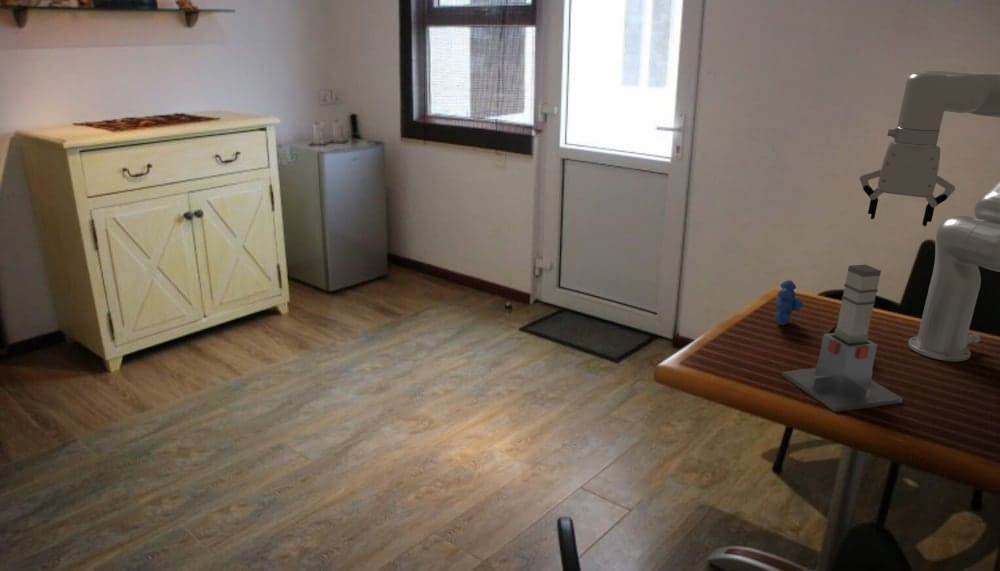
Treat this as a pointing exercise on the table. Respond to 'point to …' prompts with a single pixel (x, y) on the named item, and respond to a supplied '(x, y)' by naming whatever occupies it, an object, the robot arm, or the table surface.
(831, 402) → the stand base
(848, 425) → the table surface
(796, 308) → the blue lumpy cluster
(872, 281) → the column
